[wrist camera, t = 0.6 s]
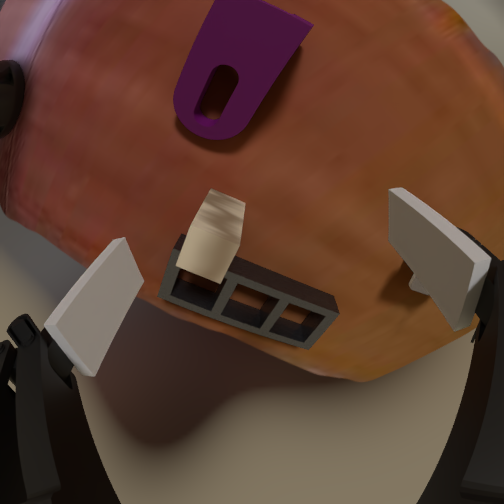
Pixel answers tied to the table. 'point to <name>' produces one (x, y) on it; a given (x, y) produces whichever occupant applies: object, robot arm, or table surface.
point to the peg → (213, 237)
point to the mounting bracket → (236, 62)
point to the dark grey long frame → (247, 316)
